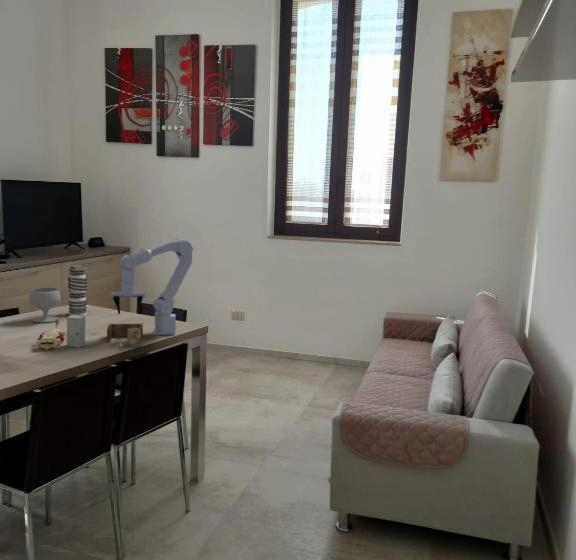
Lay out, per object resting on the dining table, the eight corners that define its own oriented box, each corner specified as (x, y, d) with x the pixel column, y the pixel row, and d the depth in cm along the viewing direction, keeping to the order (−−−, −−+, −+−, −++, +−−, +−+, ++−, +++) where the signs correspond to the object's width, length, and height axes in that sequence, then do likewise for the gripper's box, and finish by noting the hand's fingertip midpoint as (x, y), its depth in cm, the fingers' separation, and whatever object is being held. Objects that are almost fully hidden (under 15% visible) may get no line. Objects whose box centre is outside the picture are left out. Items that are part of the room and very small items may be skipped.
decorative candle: (64, 315, 278) (63, 266, 274) (74, 311, 287) (73, 264, 284) (81, 316, 277) (80, 267, 273) (90, 313, 286) (90, 265, 282)
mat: (144, 342, 236) (144, 340, 236) (143, 347, 229) (143, 345, 229) (124, 342, 234) (124, 341, 234) (123, 347, 227) (123, 346, 227)
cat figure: (45, 338, 240) (32, 350, 216) (45, 318, 240) (32, 327, 215) (70, 338, 243) (59, 349, 218) (69, 318, 242) (59, 327, 218)
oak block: (136, 341, 234) (136, 327, 233) (140, 343, 231) (140, 329, 231) (127, 342, 232) (127, 328, 231) (131, 345, 229) (131, 330, 228)
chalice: (43, 325, 257) (43, 293, 255) (23, 321, 263) (22, 290, 261) (67, 319, 270) (67, 289, 268) (47, 315, 276) (46, 286, 274)
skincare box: (66, 345, 226) (65, 316, 224) (73, 343, 230) (73, 314, 228) (78, 347, 224) (78, 318, 222) (86, 344, 228) (85, 316, 226)
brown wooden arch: (142, 335, 247) (142, 323, 246) (142, 341, 237) (142, 329, 236) (109, 335, 243) (109, 323, 243) (107, 342, 234) (107, 329, 233)
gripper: (145, 281, 246) (145, 311, 248) (111, 281, 243) (111, 311, 245) (145, 284, 239) (145, 314, 241) (110, 283, 236) (110, 315, 238)
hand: (128, 313), depth 243 cm, fingers open, 7 cm apart
